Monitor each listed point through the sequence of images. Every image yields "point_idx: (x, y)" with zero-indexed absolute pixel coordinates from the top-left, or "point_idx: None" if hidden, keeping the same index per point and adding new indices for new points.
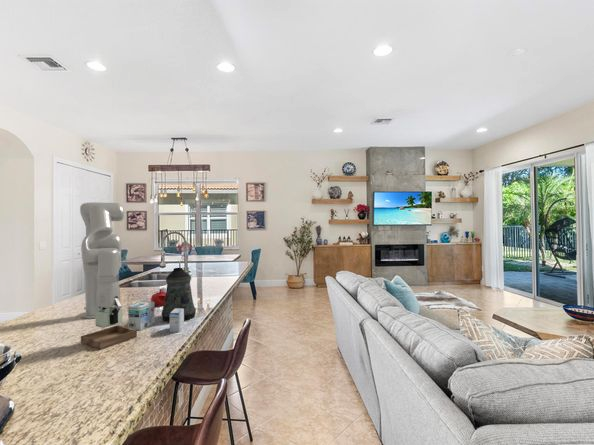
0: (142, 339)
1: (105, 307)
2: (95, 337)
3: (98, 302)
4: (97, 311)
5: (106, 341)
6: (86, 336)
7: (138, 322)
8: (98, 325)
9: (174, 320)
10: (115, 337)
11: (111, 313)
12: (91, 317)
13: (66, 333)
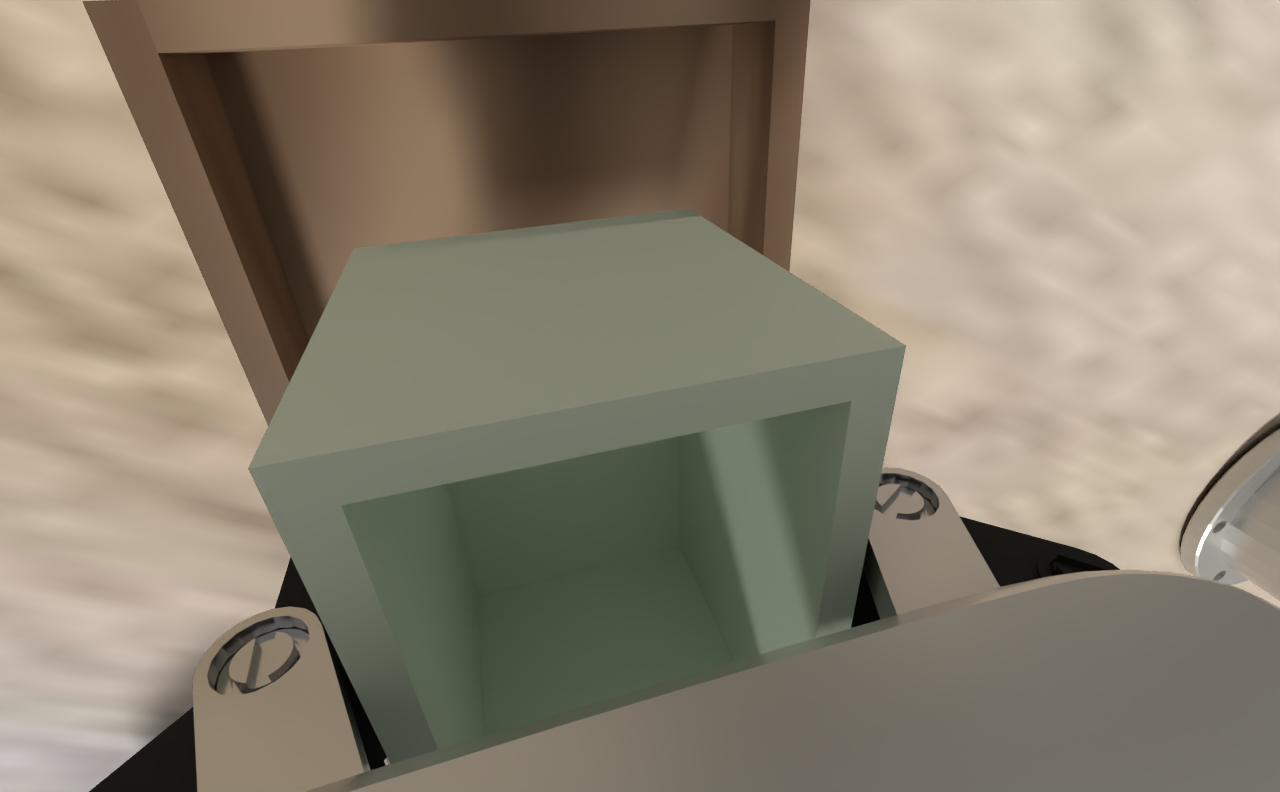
0: (215, 570)
1: (368, 790)
2: (733, 213)
3: (1237, 786)
4: (802, 388)
5: (162, 152)
6: (763, 71)
7: None
8: (583, 228)
9: None
10: (230, 331)
11: (270, 655)
12: (1270, 446)
13: (1231, 91)
